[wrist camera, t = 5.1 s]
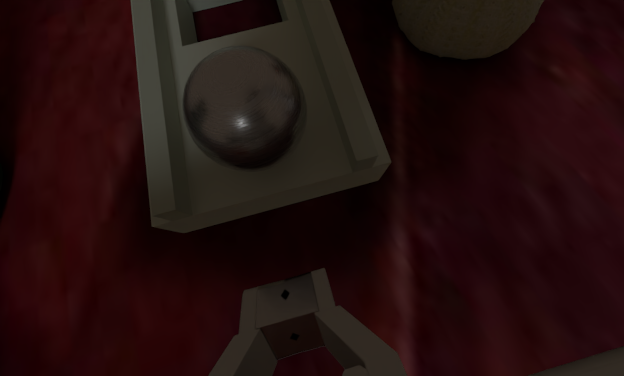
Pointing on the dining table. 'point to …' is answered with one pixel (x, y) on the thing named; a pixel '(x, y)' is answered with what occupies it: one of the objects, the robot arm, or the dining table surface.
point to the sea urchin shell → (464, 25)
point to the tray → (307, 156)
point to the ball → (244, 108)
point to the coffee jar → (1, 176)
